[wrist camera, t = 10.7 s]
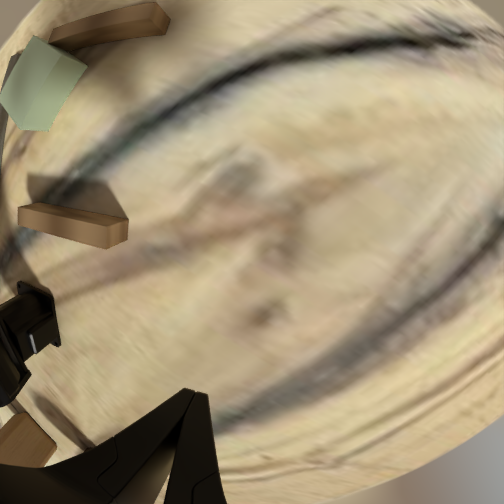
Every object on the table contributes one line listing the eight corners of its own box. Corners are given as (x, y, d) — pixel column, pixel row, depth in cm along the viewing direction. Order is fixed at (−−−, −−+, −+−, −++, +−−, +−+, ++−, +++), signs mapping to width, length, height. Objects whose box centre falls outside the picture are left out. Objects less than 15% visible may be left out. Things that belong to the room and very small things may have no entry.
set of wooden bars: (-7, 207, 22) (-25, 211, 19) (17, 58, 16) (0, 53, 14) (127, 239, 20) (106, 249, 17) (170, 19, 15) (155, 2, 12)
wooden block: (45, 445, 37) (5, 498, 17) (15, 413, 35) (-30, 462, 16) (60, 446, 34) (16, 508, 15) (26, 409, 33) (-26, 468, 13)
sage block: (24, 102, 18) (-3, 98, 14) (58, 45, 16) (33, 35, 13) (50, 131, 19) (20, 129, 15) (89, 66, 17) (61, 54, 13)
